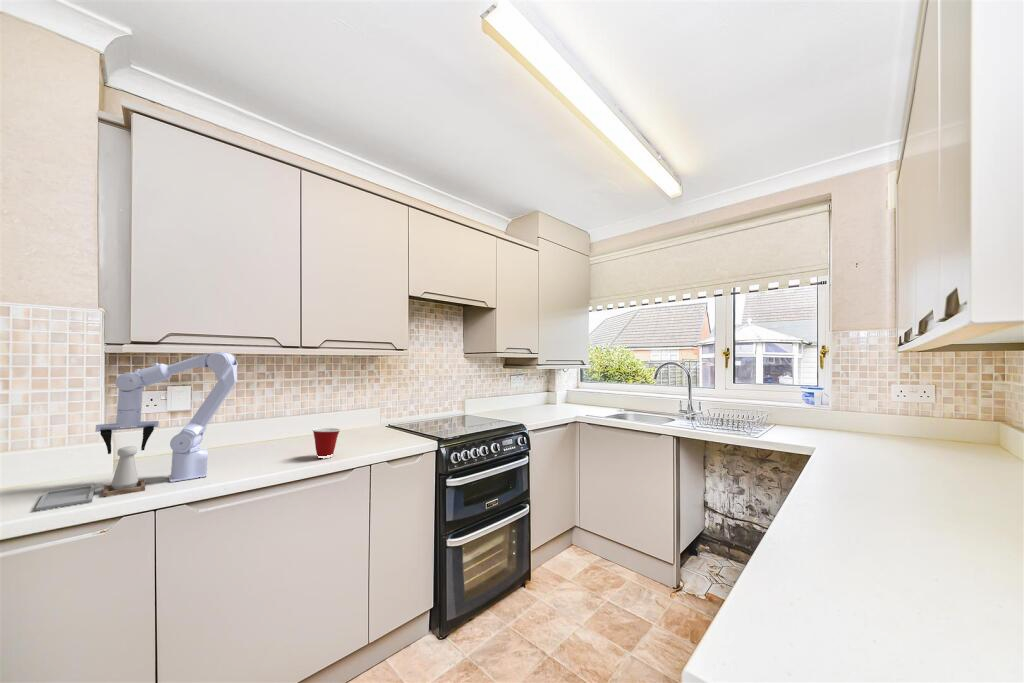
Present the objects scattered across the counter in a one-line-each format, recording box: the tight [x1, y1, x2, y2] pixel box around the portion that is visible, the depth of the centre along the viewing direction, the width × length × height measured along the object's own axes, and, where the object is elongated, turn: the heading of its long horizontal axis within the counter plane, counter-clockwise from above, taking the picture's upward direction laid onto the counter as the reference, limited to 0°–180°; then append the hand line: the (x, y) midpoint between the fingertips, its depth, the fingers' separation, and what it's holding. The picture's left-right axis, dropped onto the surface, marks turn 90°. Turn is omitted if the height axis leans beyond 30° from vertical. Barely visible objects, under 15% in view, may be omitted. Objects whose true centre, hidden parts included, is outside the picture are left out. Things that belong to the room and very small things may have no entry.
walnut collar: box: [102, 479, 146, 498], centre depth 119 cm, size 9×9×1 cm
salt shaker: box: [110, 445, 139, 491], centre depth 119 cm, size 6×6×13 cm
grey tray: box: [35, 484, 96, 512], centre depth 111 cm, size 10×16×1 cm, turn 45°
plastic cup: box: [311, 427, 341, 456], centre depth 163 cm, size 11×11×12 cm
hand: (126, 451), depth 126 cm, fingers open, 7 cm apart
